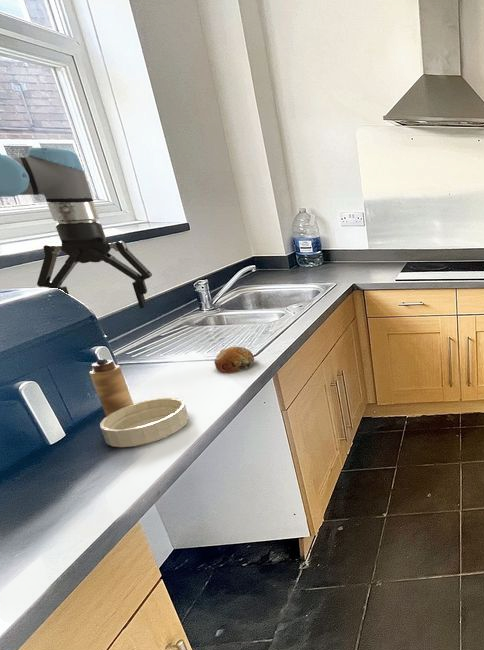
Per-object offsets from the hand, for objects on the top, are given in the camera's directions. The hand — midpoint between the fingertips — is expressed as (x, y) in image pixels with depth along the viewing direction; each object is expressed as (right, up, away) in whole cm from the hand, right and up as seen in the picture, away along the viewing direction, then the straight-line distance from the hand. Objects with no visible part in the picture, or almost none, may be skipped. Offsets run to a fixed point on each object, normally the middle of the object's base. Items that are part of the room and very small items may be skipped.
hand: (108, 310), depth 102 cm
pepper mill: (+6, -25, -3) cm, 26 cm away
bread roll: (+16, -16, +23) cm, 33 cm away
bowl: (+19, -28, -10) cm, 35 cm away
